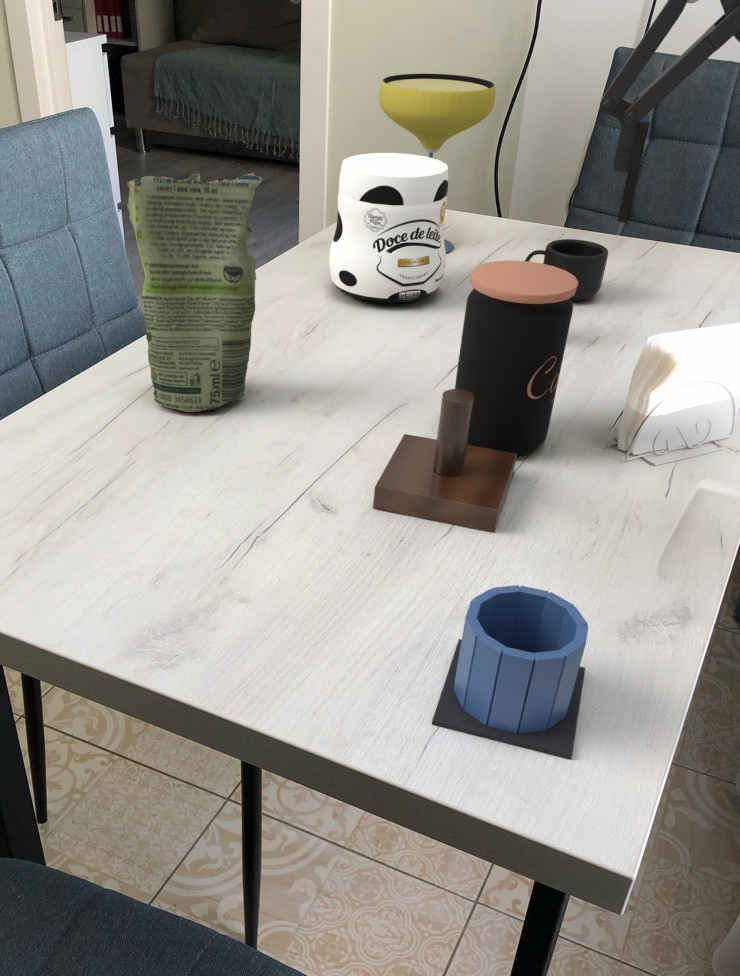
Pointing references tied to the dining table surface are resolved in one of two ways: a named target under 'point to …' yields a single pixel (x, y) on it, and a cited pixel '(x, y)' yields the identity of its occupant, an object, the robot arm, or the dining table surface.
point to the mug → (577, 263)
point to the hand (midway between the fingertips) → (715, 228)
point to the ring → (519, 658)
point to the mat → (549, 741)
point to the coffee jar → (514, 351)
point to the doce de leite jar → (390, 227)
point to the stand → (447, 473)
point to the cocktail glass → (436, 106)
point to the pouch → (196, 286)
